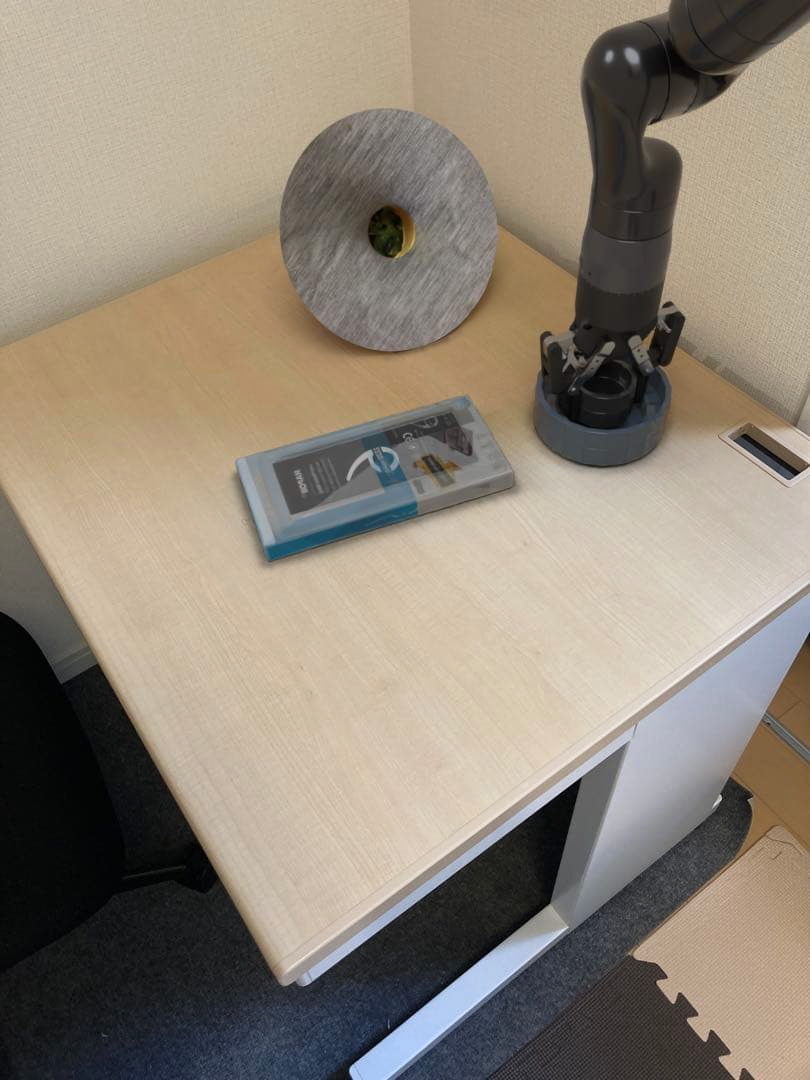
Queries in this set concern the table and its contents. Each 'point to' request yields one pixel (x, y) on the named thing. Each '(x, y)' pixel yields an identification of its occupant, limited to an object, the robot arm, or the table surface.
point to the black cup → (607, 396)
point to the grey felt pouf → (388, 229)
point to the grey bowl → (604, 443)
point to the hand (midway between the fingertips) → (600, 406)
